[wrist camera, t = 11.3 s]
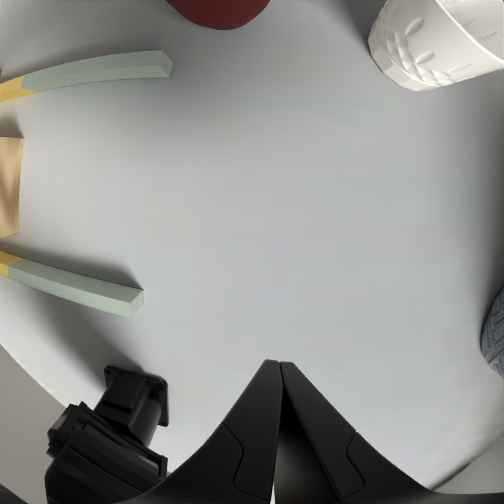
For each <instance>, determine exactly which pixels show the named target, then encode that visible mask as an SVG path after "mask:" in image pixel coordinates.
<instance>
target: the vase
mask: <svg viewBox="0 0 504 504" xmlns="http://www.w3.org/2000/svg"><path fill="white" fill-rule="evenodd" d="M481 349H482V354H483V356H484V358H485V361H486V362H487V364H488V365H489V366H490V367H491V368H492V369H493V370H494V371H495V372H497V373H498V374H499V375H500V376H501V377H502V378H503V379H504V286H503V288H502V289H501V291H500V293H499V294H498V296H497V298H496V300H495V301H494V303H493V305H492V308H491V310H490V312H489V315H488V317H487V320H486V323H485V326H484V330H483V334H482V341H481Z"/></svg>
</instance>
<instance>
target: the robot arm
mask: <svg viewBox="0 0 504 504" xmlns="http://www.w3.org/2000/svg"><path fill="white" fill-rule="evenodd" d="M104 374H105V380H106V385H107V389H106V391H105V392H104V394H103V395H102V398H101V399H100V401H99V402H98V404H97V405H96V407H95V408H94V410H91V409H90V408H89V407H88V406H87V404H85V403H84V402H83V401H82V402H81V403H80V404H79V406H77V405H73V404H69V406H68V407H67V408H66V410H65V411H64V413H63V414H62V415H61V417H60V418H59V419H58V420H57V421H56V422H55V423H54V425H53V426H52V427H51V428H50V430H49V431H48V433H47V434H48V438H49V444H48V446H49V449H48V451H47V452H46V454H48V455H49V456H50V457H51V458H53V461H52V463H51V464H50V466H49V467H48V469H47V471H46V474H45V488H46V496H47V502H48V504H270V502H271V496H272V489H273V481H274V495H275V504H504V492H500V493H486V494H446V493H439V492H435V491H432V490H430V489H428V488H425V487H424V486H422V485H421V484H419V483H418V482H416V481H415V480H414V479H412V478H411V477H410V476H408V475H407V474H406V473H404V472H403V471H402V470H400V469H399V468H398V467H396V466H395V465H394V464H392V463H391V462H390V461H389V460H387V459H386V458H385V457H384V456H382V455H381V454H380V453H379V452H378V451H377V450H376V449H374V448H373V447H372V446H371V445H370V444H369V443H368V442H367V441H366V440H365V439H364V438H363V437H362V436H361V435H360V434H359V433H358V432H356V430H355V429H354V428H353V427H352V426H351V425H350V424H349V423H348V422H347V421H346V420H345V418H344V417H343V416H342V415H341V414H340V413H339V412H338V411H337V410H336V409H335V408H334V407H333V406H332V405H331V404H330V403H329V402H328V400H327V399H326V398H325V397H324V396H323V395H322V394H321V393H320V392H319V391H318V390H317V389H316V387H315V386H314V385H313V384H312V383H311V382H310V381H309V380H308V379H307V378H306V376H305V375H304V374H303V373H302V372H301V371H300V370H299V369H298V368H297V366H296V365H295V364H294V363H292V362H284V361H281V362H278V361H275V360H268V359H266V360H265V361H264V362H263V363H262V365H261V366H260V368H259V369H258V371H257V372H256V374H255V375H254V377H253V378H252V380H251V381H250V383H249V384H248V386H247V387H246V388H245V390H244V391H243V393H242V394H241V396H240V397H239V398H238V400H237V401H236V403H235V404H234V405H233V407H232V408H231V410H230V411H229V412H228V414H227V415H226V417H225V418H224V419H223V421H222V422H221V424H219V426H218V427H217V428H216V430H215V431H214V432H213V434H212V435H211V436H210V437H209V438H208V440H207V441H206V442H205V443H204V444H203V445H202V446H201V447H200V448H199V449H198V450H197V451H196V452H195V453H194V454H193V455H192V456H191V457H190V458H189V459H188V460H186V461H185V462H184V463H183V464H182V465H181V466H179V467H178V468H177V469H176V470H175V471H174V472H172V473H171V474H170V475H169V476H167V477H166V474H167V462H168V458H167V457H165V456H163V455H159V454H157V453H156V452H154V451H152V450H151V449H149V448H148V447H149V445H150V442H151V440H152V437H153V435H154V432H155V430H156V427H157V425H160V426H164V427H167V426H168V424H169V407H168V385H167V384H166V383H165V382H163V381H159V380H155V379H151V378H148V377H144V376H141V375H137V374H134V373H130V372H127V371H124V370H121V369H118V368H115V367H112V366H106V367H105V368H104ZM161 386H162V387H161ZM355 432H356V433H355ZM0 504H28V503H26V502H25V501H24V500H22V499H21V498H19V497H18V496H17V495H15V494H14V493H13V492H11V491H10V490H9V489H7V488H6V487H5V486H3V485H2V484H0Z"/></svg>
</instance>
